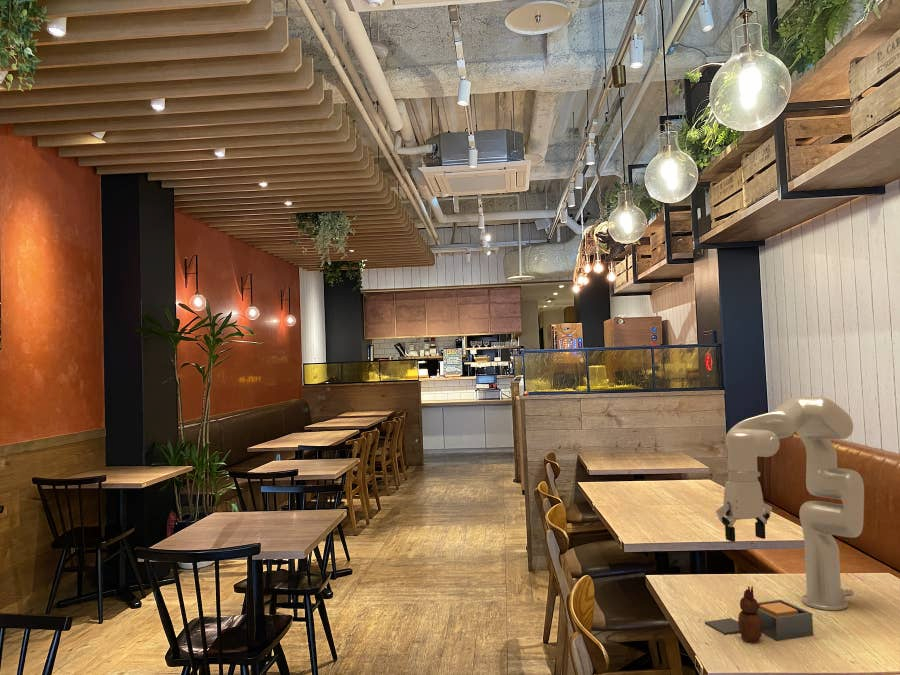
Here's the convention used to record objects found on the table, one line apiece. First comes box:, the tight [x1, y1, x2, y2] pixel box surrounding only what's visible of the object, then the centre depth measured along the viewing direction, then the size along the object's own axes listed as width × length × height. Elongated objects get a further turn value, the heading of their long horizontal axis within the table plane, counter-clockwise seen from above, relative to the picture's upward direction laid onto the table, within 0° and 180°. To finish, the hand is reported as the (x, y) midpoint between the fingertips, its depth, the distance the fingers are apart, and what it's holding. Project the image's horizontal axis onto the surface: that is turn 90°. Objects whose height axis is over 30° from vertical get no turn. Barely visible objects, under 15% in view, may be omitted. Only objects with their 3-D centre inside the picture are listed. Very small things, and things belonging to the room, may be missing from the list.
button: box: [759, 602, 798, 617], centre depth 195 cm, size 7×7×2 cm
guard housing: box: [757, 599, 814, 642], centre depth 195 cm, size 12×12×6 cm
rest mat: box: [704, 617, 740, 636], centre depth 198 cm, size 9×9×1 cm
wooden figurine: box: [737, 585, 763, 643], centre depth 189 cm, size 7×6×15 cm
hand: (745, 539), depth 190 cm, fingers open, 9 cm apart
